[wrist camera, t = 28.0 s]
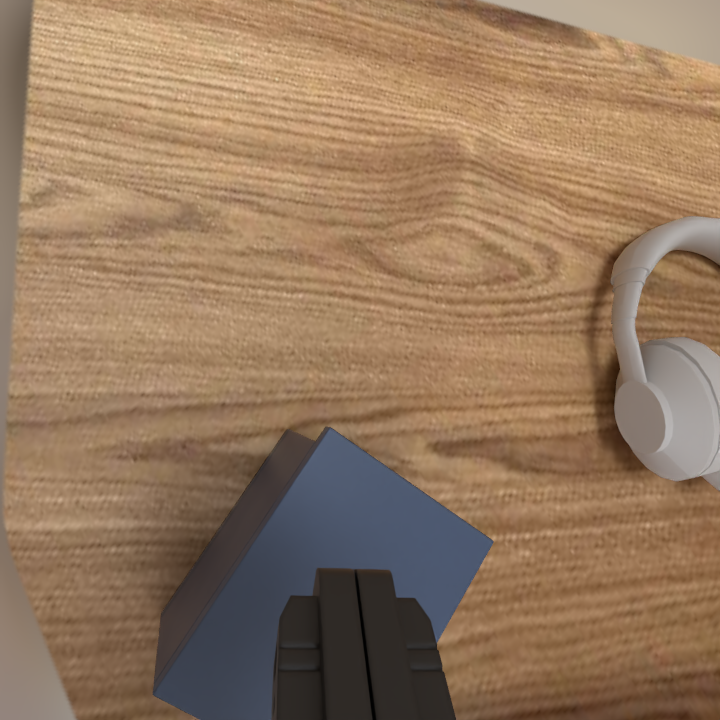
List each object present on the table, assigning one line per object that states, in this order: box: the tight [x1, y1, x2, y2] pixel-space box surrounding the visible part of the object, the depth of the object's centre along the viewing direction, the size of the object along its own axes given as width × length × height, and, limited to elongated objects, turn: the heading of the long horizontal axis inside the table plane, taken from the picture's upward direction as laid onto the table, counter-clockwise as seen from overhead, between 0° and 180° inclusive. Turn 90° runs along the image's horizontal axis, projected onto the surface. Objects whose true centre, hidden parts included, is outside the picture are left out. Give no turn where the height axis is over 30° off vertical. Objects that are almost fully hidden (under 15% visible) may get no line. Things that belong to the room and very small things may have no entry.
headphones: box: [610, 216, 720, 491], centre depth 41 cm, size 18×8×20 cm
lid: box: [153, 427, 493, 720], centre depth 27 cm, size 14×11×1 cm
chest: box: [154, 429, 315, 684], centre depth 31 cm, size 13×11×8 cm
